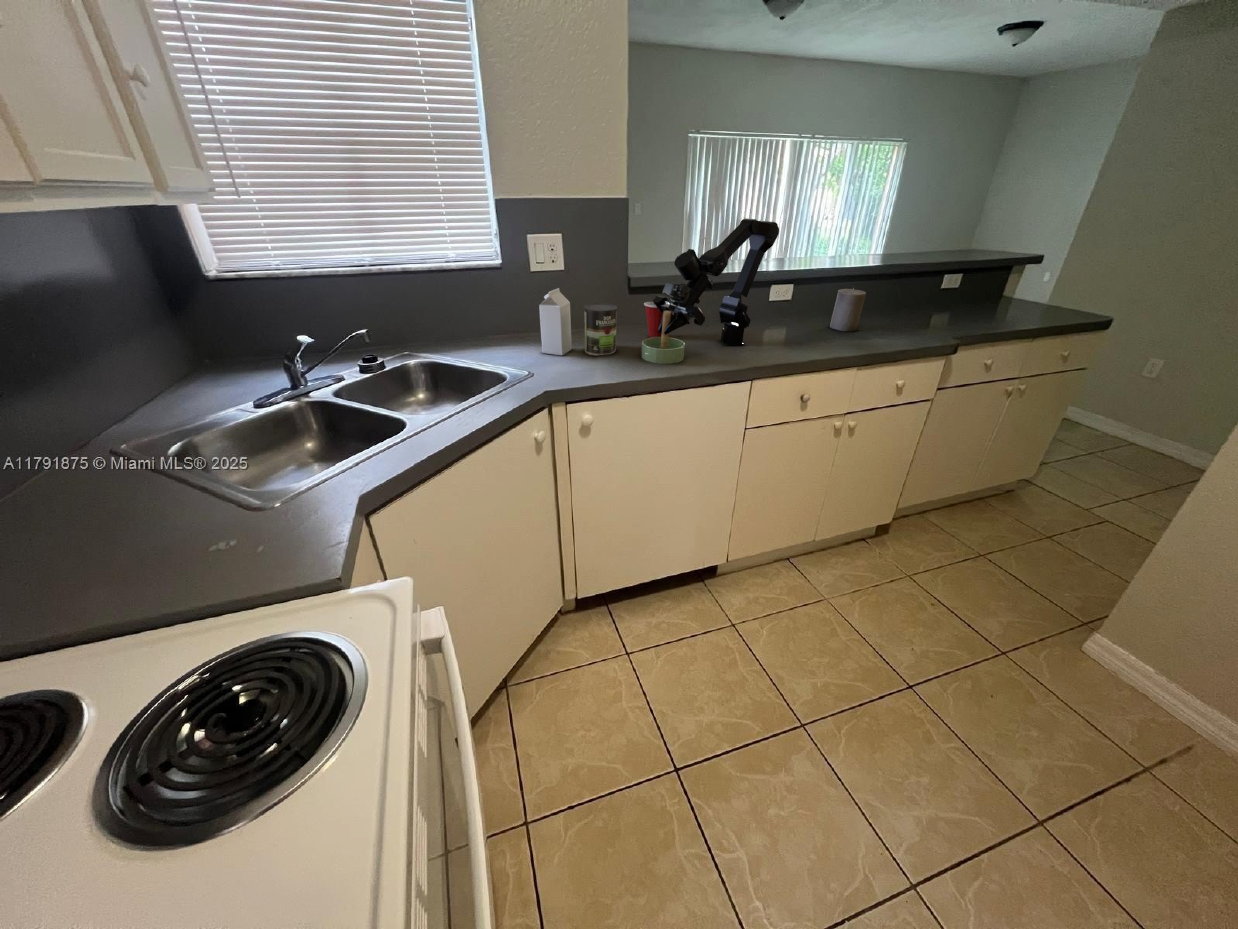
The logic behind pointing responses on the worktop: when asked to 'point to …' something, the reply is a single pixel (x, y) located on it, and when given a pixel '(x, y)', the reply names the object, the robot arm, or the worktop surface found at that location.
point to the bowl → (662, 350)
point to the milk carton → (555, 323)
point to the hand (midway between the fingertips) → (661, 332)
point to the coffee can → (600, 328)
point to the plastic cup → (653, 319)
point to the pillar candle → (847, 309)
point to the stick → (665, 322)
